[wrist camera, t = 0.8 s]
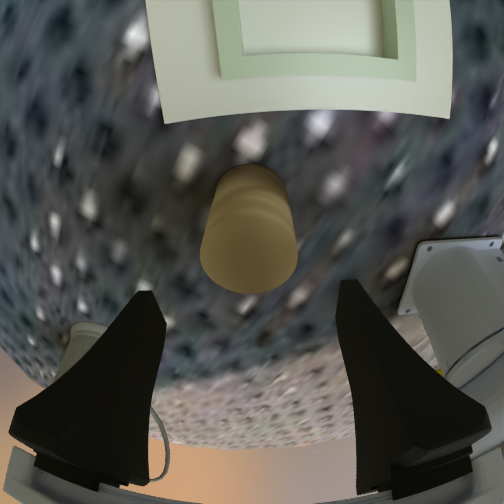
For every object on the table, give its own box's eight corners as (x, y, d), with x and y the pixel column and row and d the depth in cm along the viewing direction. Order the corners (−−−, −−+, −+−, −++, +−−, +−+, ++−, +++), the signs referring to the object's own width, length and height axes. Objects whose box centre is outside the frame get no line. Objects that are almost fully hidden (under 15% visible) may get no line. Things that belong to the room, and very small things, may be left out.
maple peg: (285, 161, 17) (297, 213, 12) (288, 224, 19) (297, 291, 15) (210, 167, 17) (190, 221, 12) (221, 229, 20) (209, 295, 15)
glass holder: (73, 310, 26) (21, 442, 14) (196, 364, 30) (179, 497, 18) (68, 346, 30) (31, 451, 18) (169, 389, 35) (153, 495, 23)
